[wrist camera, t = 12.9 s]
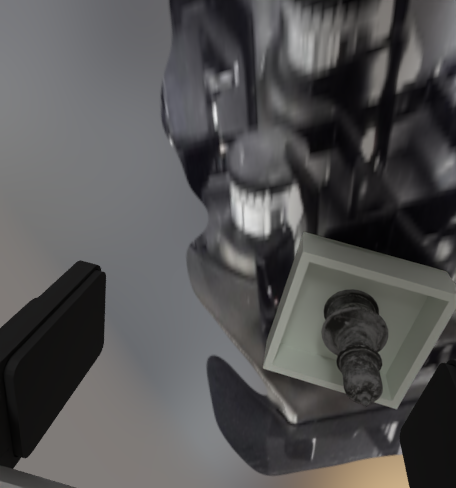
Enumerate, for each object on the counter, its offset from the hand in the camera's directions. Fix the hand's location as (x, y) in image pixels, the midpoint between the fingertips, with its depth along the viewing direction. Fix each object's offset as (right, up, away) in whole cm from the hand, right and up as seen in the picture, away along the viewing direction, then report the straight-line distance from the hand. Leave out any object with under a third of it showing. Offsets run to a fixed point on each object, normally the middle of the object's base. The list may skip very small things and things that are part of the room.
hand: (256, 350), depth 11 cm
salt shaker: (+11, -4, +29) cm, 31 cm away
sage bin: (+11, -4, +29) cm, 32 cm away
